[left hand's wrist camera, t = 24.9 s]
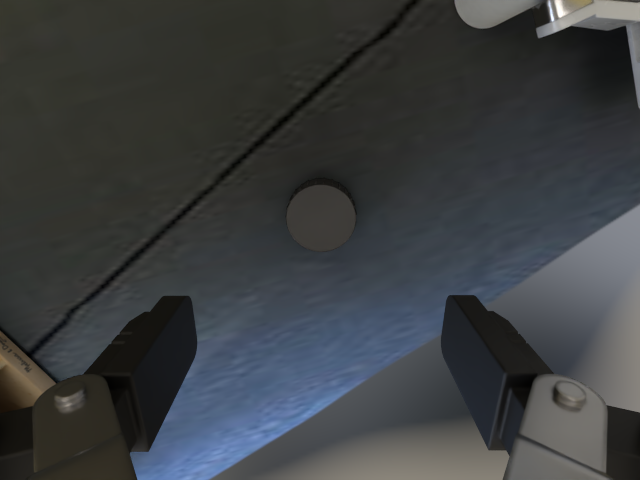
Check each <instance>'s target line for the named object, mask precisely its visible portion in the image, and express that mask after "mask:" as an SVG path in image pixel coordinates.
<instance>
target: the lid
mask: <svg viewBox="0 0 640 480" xmlns="http://www.w3.org/2000/svg"><path fill="white" fill-rule="evenodd" d="M356 215H357V213H356V210H355V204H354V201H353V200H352V197H351V194H350V193H348V191H347V190H346V188H345V187H343V186H342V185H340V183H339V182H338V183H337V182H335V181H333V179H331V180H329V179H325V178H323V179H317V178H315V179H314V180H308V182H306V183H304V184H301V186H300V187H299V188H298V189H296V190H295V192H294V195H292V196H291V198H290V201H289V204H288V206H287V214H286V222H287V227H288V230H289V232H290V234H291V236H292V237H293V239H294V240H295V241H296V242H297V243H298V244H300V245H301V246H303V247H304V248H306V249H309V250H312V251H318V252H325V251H330V250H334V249H336V248H338V247H340V246H341V245H343V244H344V243H345V242H346V241H347V240H348V239H349V238H350V236H351V235H352V233H353V231H354V228H355V224H356Z"/></svg>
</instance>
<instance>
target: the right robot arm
mask: <svg viewBox="0 0 640 480" xmlns="http://www.w3.org/2000/svg"><path fill="white" fill-rule="evenodd" d="M532 12H533V17H534V22H535V27H536V31H537V36H538V38H541V37H544V36H547V35H550V34H552V33H555V32H557V31H560V30H562V29H565V28H567V27H569V26H576V27H584V28H591V29H599V30H606V31H608V30H612V29H615V28H619V27H622V26H626V29H627V36H628V42H629V49H630V55H631V62H632V68H633V75H634V81H635V88H636V95H637V102H638V107H639V109H640V0H546V1H544V2H542V3H540V4H538V5H536V6H534V7H532ZM537 27H538V28H537Z"/></svg>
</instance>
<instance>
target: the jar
mask: <svg viewBox="0 0 640 480" xmlns="http://www.w3.org/2000/svg"><path fill="white" fill-rule="evenodd" d="M543 1H545V0H455V6H456V9H457V12H458V14H459V16H460V17H461V18H462V20H463V21H464V22H465V23H467V24H468V25H470V26H472V27H475V28H480V29H485V28H491V27H494V26H496V25H498V24H500V23H502V22H504V21H506V20H508V19H510V18H512V17H514V16H516V15H518V14H520V13H522V12H524V11H526V10H527V9H529V8H531V7H533V6H535V5H537V4H539V3H541V2H543Z"/></svg>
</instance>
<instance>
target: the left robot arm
mask: <svg viewBox="0 0 640 480" xmlns="http://www.w3.org/2000/svg"><path fill="white" fill-rule="evenodd" d="M441 348H442V353H443V357H444V359H445V361H446V363H447V366H448V368H449V370H450V372H451V374H452V376H453V378H454V380H455V382H456V384H457V386H458V388H459V390H460V392H461V394H462V396H463V398H464V401H465V403H466V405H467V407H468V409H469V411H470V413H471V415H472V417H473V419H474V421H475V423H476V425H477V427H478V429H479V431H480V433H481V435H482V438H483V440H484V442H485V444H486V446H487V448H488V450H507V452H508V454H509V456H510V457H509V461H508V464H507V467H506V471H505V474H504V477H503V480H640V413H639V412H634V411H630V410H625V409H621V408H616V407H612V406H607V405H606V403H605V402H604V400H603V399H602V398H601V396H600V395H599V394H598V393H596V392H595V391H594V390H593V389H591V388H590V387H588V386H587V385H585V384H583V383H581V382H579V381H577V380H575V379H572V378H569V377H566V376H562V375H556V374H554V373H553V372H552V371H551V370H550V368H549V367H548V366H547V365H546V364H545V363H544V362H543V360H542V359H541V358H540V357H539V356H538V355H537V353H536V352H535V351H534V350H533V349H532V348H531V347H530V345H529V344H528V343H526V341H525V340H524V338H523V337H522V336H521V335H520V334H518V332H517V330H516V329H515V328H514V327H513V326H512V325H511V323H510V322H509V321H508V320H506V319H505V318H503V317H501V316H500V315H498V314H497V313H495V312H494V311H487V310H486V308H485V307H484V306H483V305H482V303H481V302H480V301H479V300H478V298H477V297H476V296H474V295H450V296H448V298H447V301H446V306H445V314H444V321H443V328H442V335H441ZM196 350H197V335H196V328H195V321H194V314H193V306H192V301H191V298H190V297H189V296H163V297H162V298H161V299H160V300H159V301H158V303H157V304H156V305H155V306H154V307H153V309H152V310H151V311H150V312H144V313H142V314H141V315H139V316H137V317H136V318H134V319H133V320H131V321H129V323H128V324H127V325H126V326H125V327H124V328H123V329H122V331H121V332H120V335H117V336H116V337H115V339H114V340H113V341H112V344H109V345H108V347H107V348H106V349H105V350H104V351H103V352H102V353H101V355H100V356H99V357H98V358H97V359H96V360H95V361H94V363H93V364H92V365H91V366H90V367H89V368H88V370H87V371H86V372H85V373H84V374H83V375H78V376H74V377H71V378H68V379H65V380H63V381H61V382H59V383H57V384H55V385H53V386H52V387H50V388H49V389H47V390H46V391H45V392H44V393H42V394H41V395H40V396H39V398H38V399H37V400H36V402H35V403H34V405H33V406H30V407H26V408H22V409H17V410H13V411H8V412H4V413H0V480H137V477H136V474H135V470H134V467H133V464H132V461H131V457H130V452H149V450H150V448H151V446H152V444H153V442H154V440H155V438H156V436H157V433H158V431H159V429H160V427H161V425H162V423H163V421H164V419H165V417H166V415H167V413H168V411H169V409H170V407H171V405H172V403H173V401H174V399H175V397H176V395H177V393H178V391H179V389H180V387H181V385H182V383H183V381H184V379H185V377H186V375H187V373H188V371H189V369H190V366H191V364H192V362H193V360H194V358H195V355H196Z"/></svg>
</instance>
